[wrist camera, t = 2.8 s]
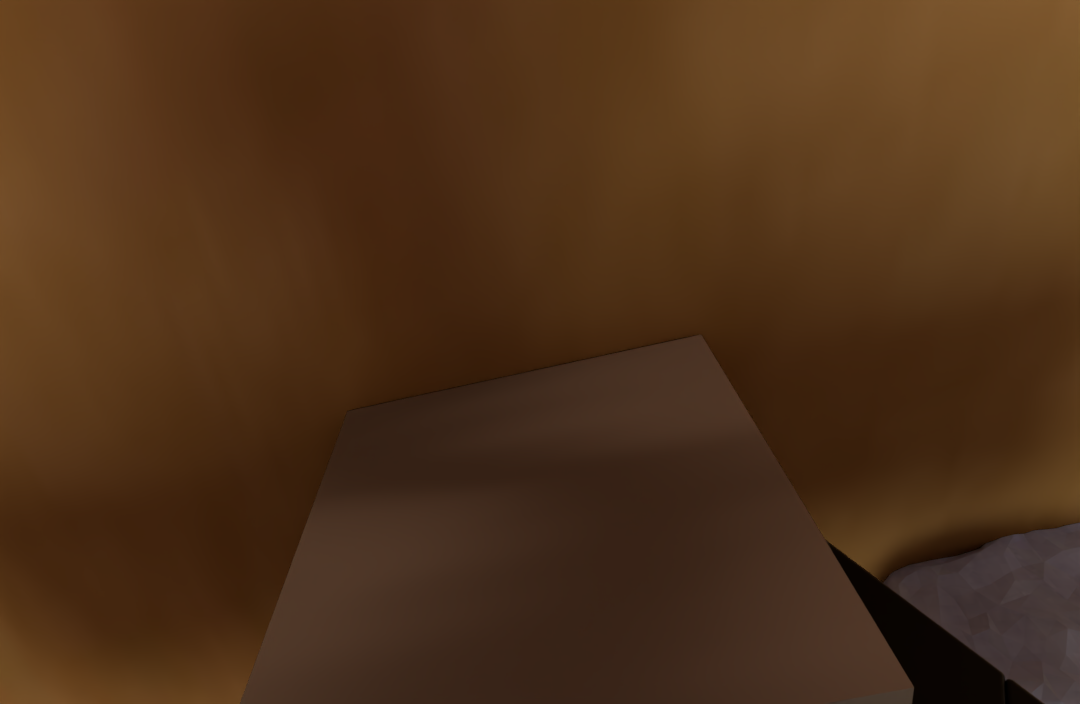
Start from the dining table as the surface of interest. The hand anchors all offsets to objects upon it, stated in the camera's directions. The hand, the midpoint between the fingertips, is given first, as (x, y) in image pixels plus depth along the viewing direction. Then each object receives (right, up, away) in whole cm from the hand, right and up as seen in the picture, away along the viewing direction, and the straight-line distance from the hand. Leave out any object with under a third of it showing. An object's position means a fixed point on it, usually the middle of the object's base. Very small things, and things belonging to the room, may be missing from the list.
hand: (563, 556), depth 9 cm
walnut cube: (0, +1, +1) cm, 1 cm away
